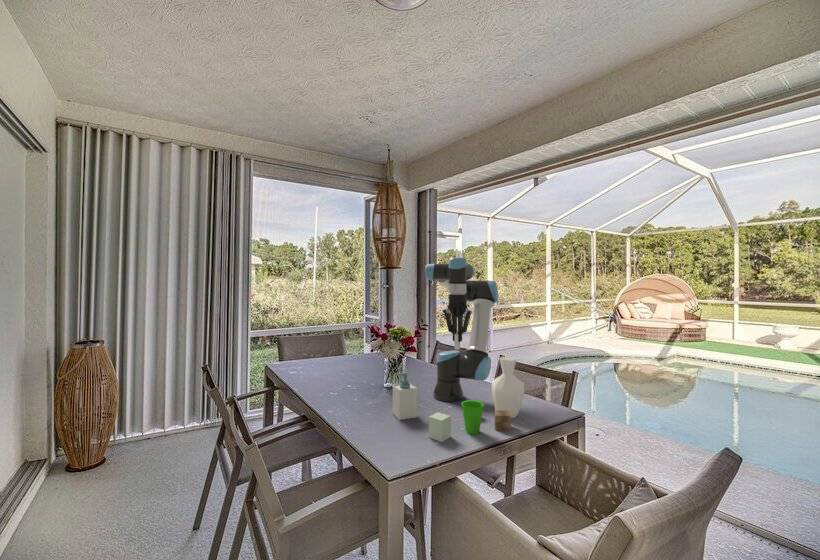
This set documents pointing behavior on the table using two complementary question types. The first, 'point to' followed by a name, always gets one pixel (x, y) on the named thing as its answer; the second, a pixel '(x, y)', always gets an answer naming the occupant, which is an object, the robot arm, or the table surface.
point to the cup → (472, 415)
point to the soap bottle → (405, 399)
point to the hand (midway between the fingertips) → (457, 349)
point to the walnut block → (502, 420)
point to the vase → (508, 388)
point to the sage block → (439, 426)
